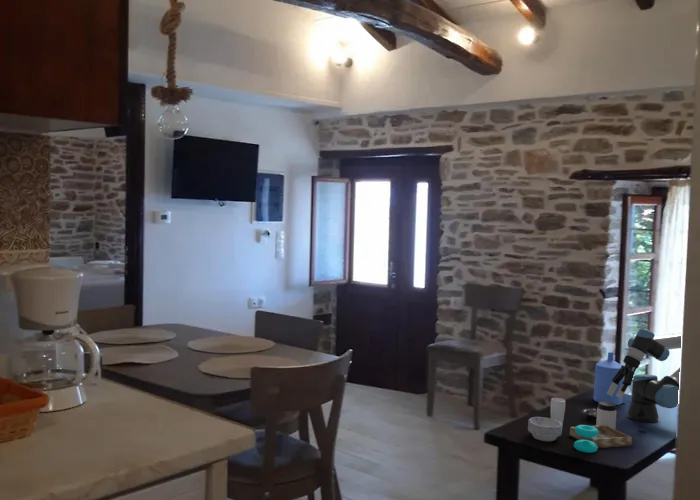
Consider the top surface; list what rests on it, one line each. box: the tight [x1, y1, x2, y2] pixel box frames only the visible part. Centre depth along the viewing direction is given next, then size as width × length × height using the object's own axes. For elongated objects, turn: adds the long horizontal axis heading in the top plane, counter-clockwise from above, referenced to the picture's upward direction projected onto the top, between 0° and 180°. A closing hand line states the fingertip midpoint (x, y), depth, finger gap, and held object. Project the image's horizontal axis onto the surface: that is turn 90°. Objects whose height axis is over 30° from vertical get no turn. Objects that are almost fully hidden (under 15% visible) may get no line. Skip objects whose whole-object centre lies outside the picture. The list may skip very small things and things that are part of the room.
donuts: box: [573, 424, 599, 454], centre depth 299 cm, size 10×10×10 cm
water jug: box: [592, 352, 624, 406], centre depth 384 cm, size 16×16×28 cm
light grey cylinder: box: [550, 397, 566, 427], centre depth 326 cm, size 7×7×15 cm
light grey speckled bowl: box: [527, 416, 563, 442], centre depth 312 cm, size 15×15×8 cm
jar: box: [595, 402, 617, 430], centre depth 334 cm, size 9×8×12 cm
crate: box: [569, 425, 633, 449], centre depth 313 cm, size 20×18×4 cm
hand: (613, 396), depth 332 cm, fingers open, 13 cm apart
